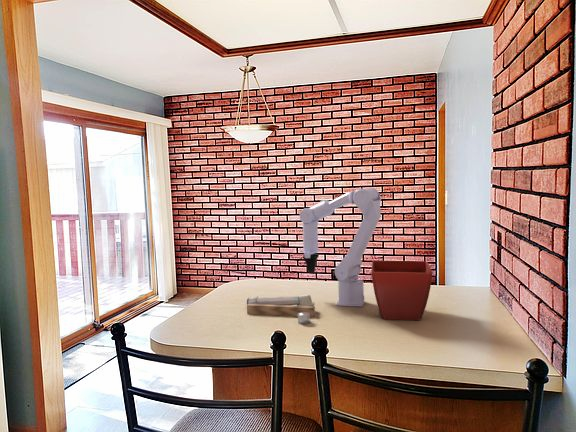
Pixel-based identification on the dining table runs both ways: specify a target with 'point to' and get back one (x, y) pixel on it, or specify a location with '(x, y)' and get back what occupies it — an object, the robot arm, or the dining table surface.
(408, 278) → the plant pot
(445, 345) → the dining table surface
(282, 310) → the brown wooden bar
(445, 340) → the dining table surface
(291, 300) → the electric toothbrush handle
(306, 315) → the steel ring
